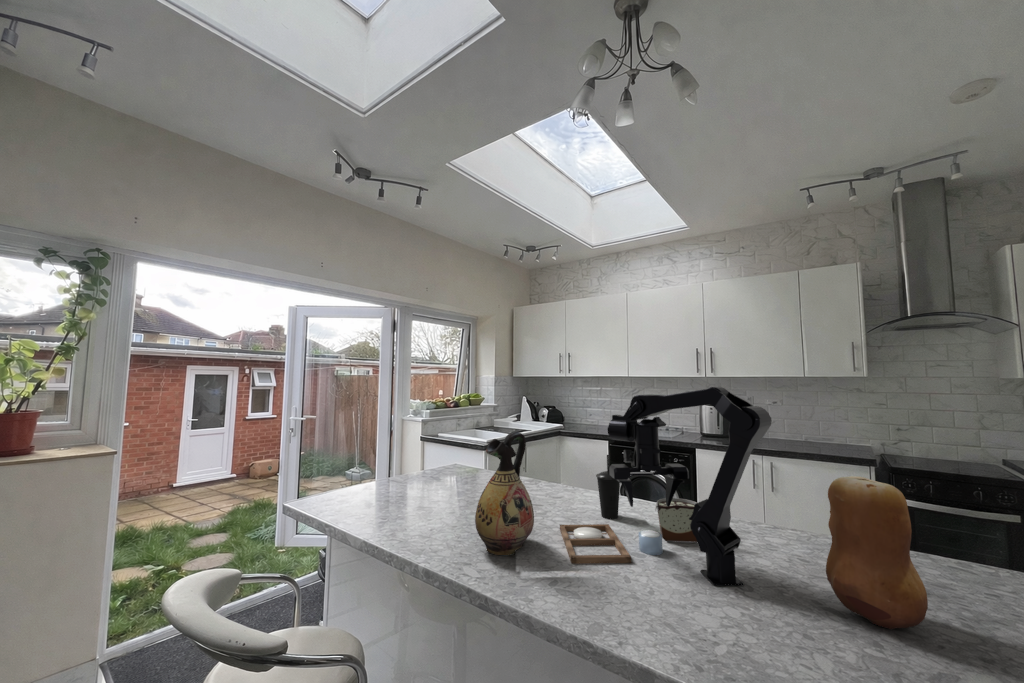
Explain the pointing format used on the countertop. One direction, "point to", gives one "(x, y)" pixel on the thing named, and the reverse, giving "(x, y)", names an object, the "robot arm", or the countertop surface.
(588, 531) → the white smooth oval
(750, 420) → the robot arm
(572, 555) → the rack
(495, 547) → the ceramic jug
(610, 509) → the drinking cup
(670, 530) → the food container
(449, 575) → the countertop surface
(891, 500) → the butternut squash
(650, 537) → the white-capped blue cylinder
